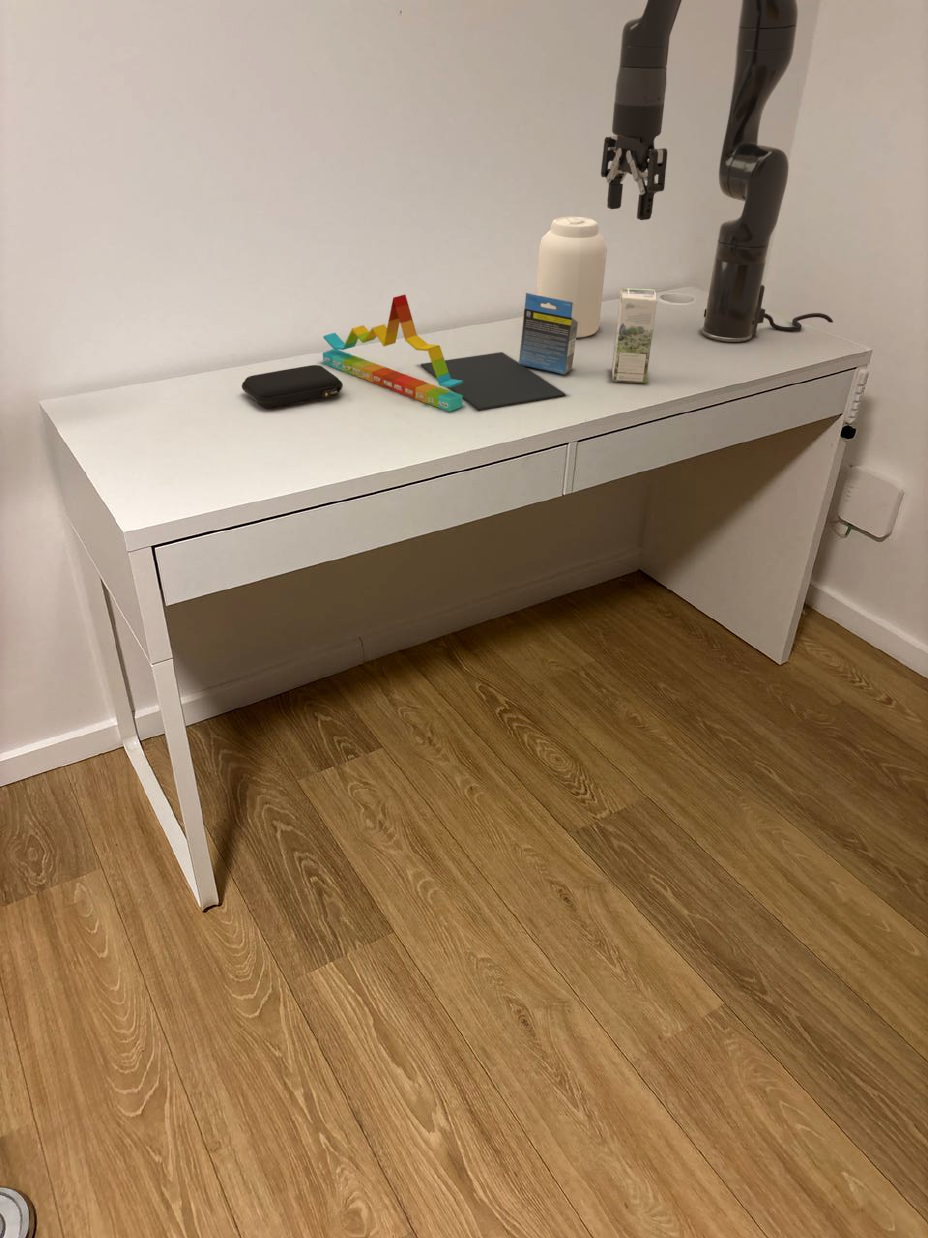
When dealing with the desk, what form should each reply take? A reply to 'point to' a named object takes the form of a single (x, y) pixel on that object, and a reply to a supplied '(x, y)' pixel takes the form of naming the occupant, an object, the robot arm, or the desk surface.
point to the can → (574, 269)
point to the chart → (388, 376)
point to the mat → (496, 381)
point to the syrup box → (634, 335)
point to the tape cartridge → (548, 335)
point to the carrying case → (292, 386)
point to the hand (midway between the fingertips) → (628, 213)
